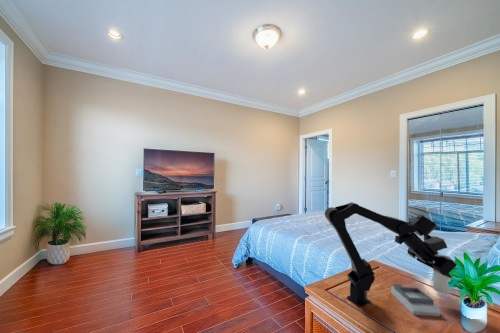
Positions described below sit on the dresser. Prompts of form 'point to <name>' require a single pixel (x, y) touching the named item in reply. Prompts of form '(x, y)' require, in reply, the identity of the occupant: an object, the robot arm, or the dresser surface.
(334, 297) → the dresser surface
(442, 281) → the lidded container
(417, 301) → the digital kitchen scale
